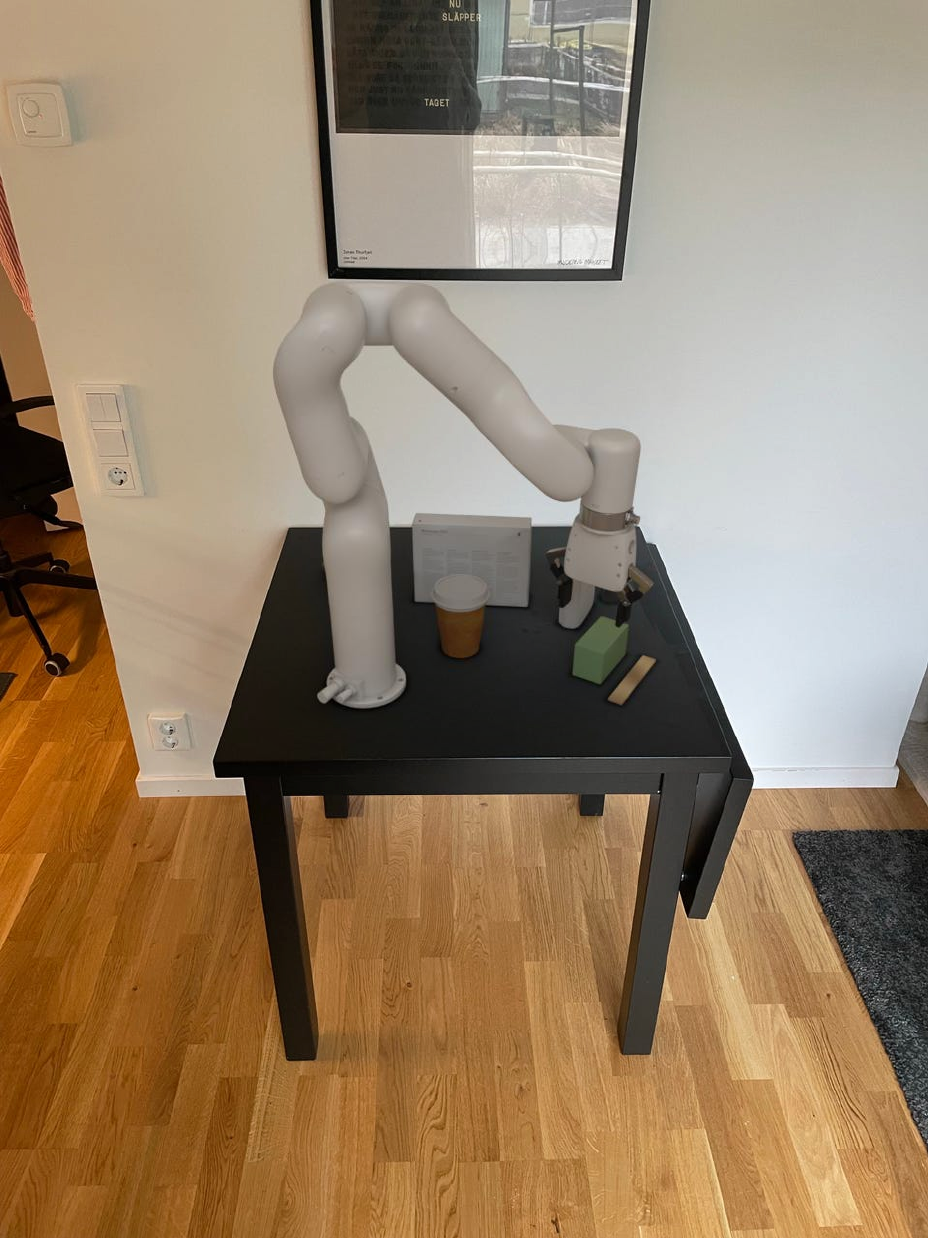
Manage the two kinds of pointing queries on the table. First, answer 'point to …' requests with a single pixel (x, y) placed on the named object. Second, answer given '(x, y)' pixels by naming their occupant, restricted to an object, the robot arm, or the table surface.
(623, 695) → the strip
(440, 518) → the skincare box
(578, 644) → the green box
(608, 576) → the robot arm
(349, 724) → the table surface
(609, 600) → the milkshake
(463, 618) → the disposable coffee cup
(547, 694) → the table surface
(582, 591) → the photo printer
